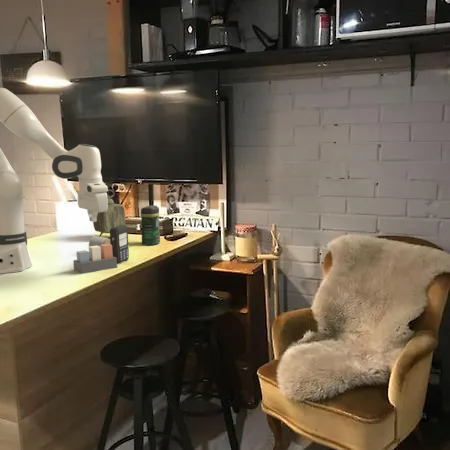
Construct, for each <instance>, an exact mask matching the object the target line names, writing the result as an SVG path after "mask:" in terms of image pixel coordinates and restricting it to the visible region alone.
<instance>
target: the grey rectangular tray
mask: <svg viewBox="0 0 450 450" xmlns="http://www.w3.org/2000/svg"><path fill="white" fill-rule="evenodd" d="M115 268H116V269H117V268H118V264H117V258H116V257H112V258H106V259H104V258H101V259H100V260H94V261H92V260H89V261H88V262H82V263H80V262H77V259H73V270H74V271H75V272H76V273H79V274H82V275H83V274H88V273H94V272H99V271H106V270H111V269H115Z"/></svg>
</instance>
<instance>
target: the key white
mask: <svg viewBox="0 0 450 450" xmlns="http://www.w3.org/2000/svg"><path fill="white" fill-rule="evenodd" d="M88 252H89V260H92V261H94V260H100V259H101V247H100V246H97V245H96V246H89V245H88Z"/></svg>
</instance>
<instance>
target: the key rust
mask: <svg viewBox="0 0 450 450" xmlns="http://www.w3.org/2000/svg"><path fill="white" fill-rule="evenodd" d="M100 247H101V258H104V259H106V258H112V257H113V252H112V245H111V244H103V245H100Z"/></svg>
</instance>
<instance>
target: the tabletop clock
mask: <svg viewBox="0 0 450 450" xmlns="http://www.w3.org/2000/svg"><path fill="white" fill-rule="evenodd" d="M107 192H112V193H113V194H112V195H111V196H110V195H109V194H107V198H108V209H107V211H106V212H98V214H97V221H96V222H92V224H93V228H94V231H95V232H99V233H100V234H99V235H98V237H102V235H103V234H110V229H111V228H113V227H116V226H119V225H126V211H125V208H124V206H123V204H119V203H115V202H114V200H113V197H114V196H115V191H114V190H112V189H108V191H107Z"/></svg>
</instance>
